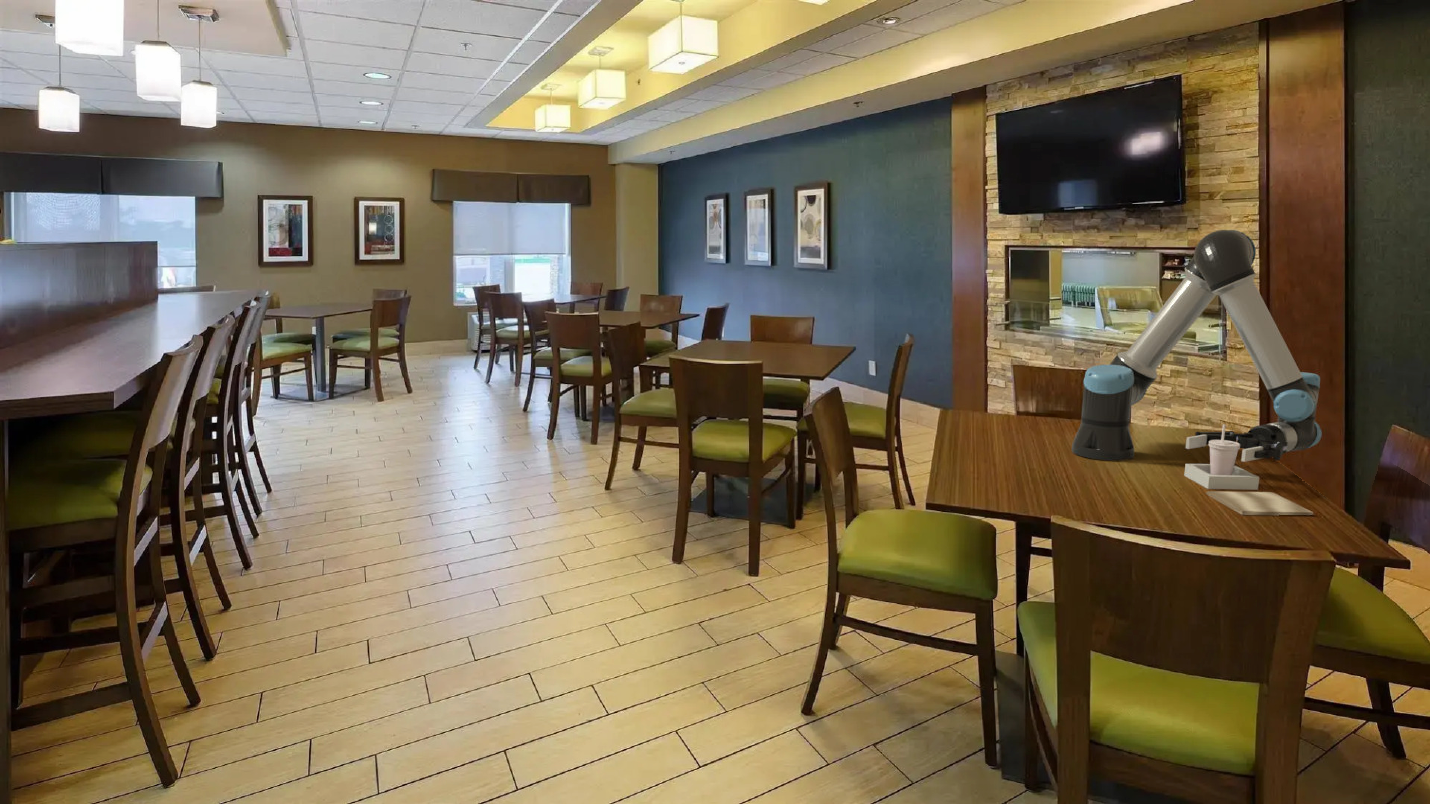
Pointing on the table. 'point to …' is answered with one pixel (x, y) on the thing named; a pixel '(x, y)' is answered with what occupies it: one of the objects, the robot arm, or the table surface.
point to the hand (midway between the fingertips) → (1214, 449)
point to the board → (1258, 503)
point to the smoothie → (1222, 455)
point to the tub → (1221, 478)
